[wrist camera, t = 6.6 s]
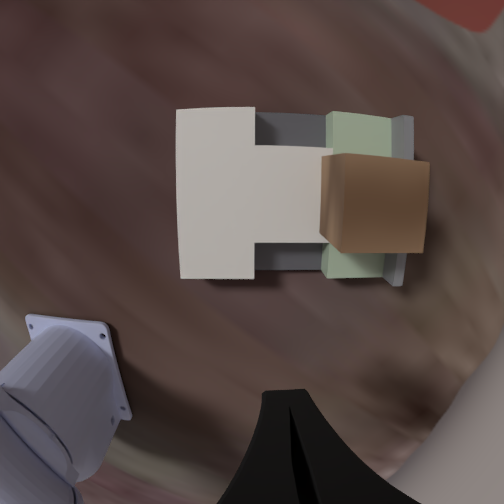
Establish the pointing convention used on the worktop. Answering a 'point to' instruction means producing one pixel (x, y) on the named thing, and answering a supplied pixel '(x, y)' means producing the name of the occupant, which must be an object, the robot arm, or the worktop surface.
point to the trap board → (271, 190)
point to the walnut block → (374, 203)
